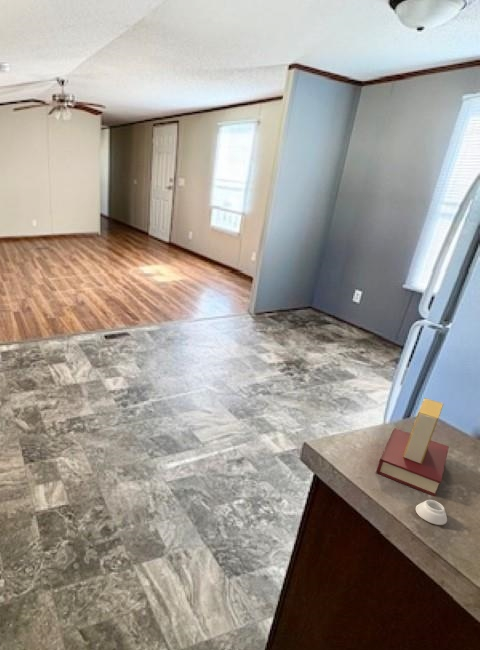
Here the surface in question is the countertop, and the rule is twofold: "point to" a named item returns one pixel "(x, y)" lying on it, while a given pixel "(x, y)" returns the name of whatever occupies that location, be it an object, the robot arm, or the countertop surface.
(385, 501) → the countertop surface
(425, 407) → the small book
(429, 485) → the big book
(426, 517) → the upside-down white bowl
